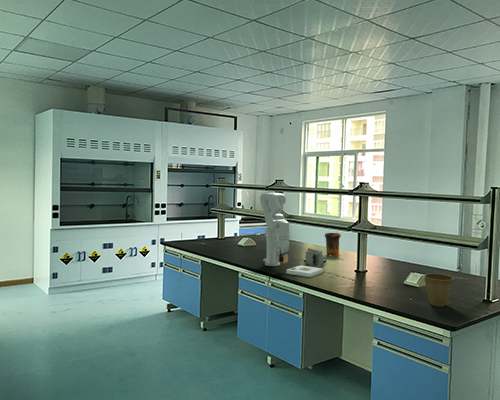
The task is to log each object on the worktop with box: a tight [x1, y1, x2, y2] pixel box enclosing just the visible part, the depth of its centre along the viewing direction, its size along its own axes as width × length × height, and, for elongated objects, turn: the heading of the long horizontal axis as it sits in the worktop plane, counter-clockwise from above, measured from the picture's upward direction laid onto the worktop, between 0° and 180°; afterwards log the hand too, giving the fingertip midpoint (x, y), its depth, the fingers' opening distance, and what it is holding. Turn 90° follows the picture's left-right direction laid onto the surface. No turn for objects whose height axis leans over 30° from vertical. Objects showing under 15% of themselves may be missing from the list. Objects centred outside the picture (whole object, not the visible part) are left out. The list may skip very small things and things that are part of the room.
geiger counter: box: [305, 247, 328, 269], centre depth 338 cm, size 14×6×25 cm
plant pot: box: [424, 273, 454, 307], centre depth 236 cm, size 15×15×16 cm
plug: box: [280, 252, 289, 264], centre depth 320 cm, size 5×5×7 cm
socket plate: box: [286, 264, 324, 278], centre depth 314 cm, size 20×20×4 cm
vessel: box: [324, 232, 342, 257], centre depth 386 cm, size 14×14×20 cm
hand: (283, 260), depth 320 cm, fingers closed on plug, 5 cm apart
